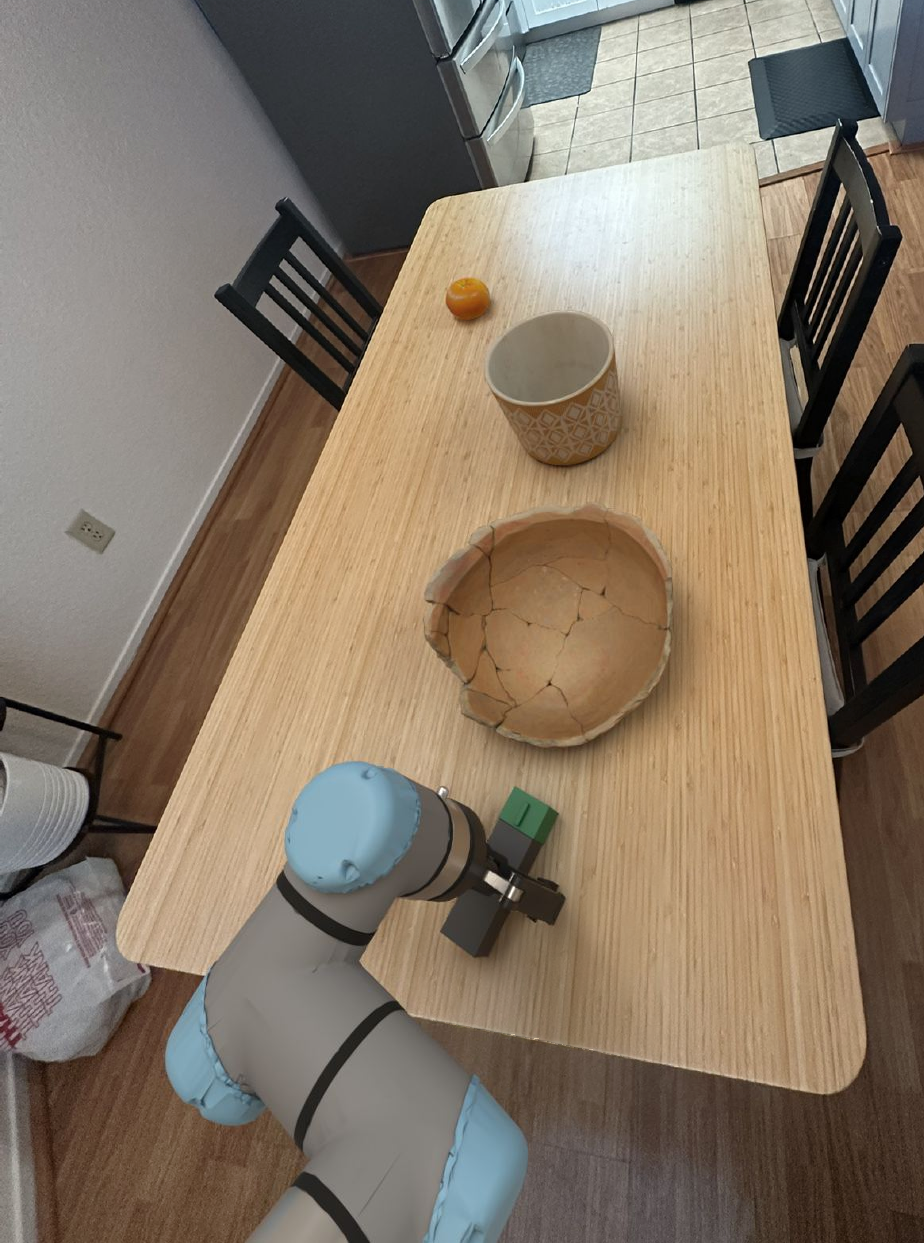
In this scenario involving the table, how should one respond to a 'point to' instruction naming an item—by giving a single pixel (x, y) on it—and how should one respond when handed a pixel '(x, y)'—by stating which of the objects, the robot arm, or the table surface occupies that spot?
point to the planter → (557, 385)
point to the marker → (520, 843)
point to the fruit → (468, 298)
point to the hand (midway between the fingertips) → (508, 868)
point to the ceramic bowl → (554, 621)
